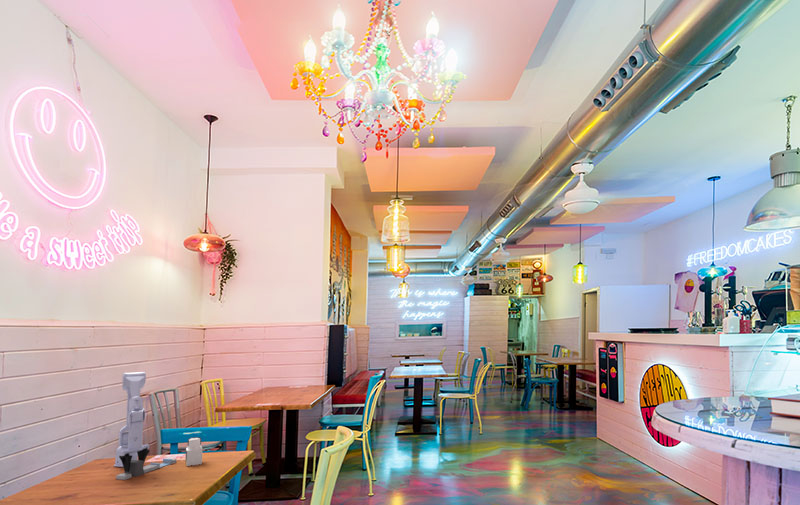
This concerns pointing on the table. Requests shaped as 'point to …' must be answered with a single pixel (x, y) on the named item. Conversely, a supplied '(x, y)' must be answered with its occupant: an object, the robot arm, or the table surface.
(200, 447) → the medicine bottle
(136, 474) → the grey tapered block
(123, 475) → the flanged white bar
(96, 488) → the table surface
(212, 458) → the table surface
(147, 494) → the table surface
